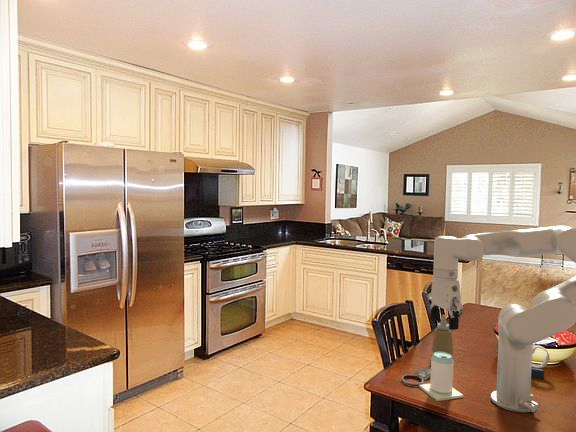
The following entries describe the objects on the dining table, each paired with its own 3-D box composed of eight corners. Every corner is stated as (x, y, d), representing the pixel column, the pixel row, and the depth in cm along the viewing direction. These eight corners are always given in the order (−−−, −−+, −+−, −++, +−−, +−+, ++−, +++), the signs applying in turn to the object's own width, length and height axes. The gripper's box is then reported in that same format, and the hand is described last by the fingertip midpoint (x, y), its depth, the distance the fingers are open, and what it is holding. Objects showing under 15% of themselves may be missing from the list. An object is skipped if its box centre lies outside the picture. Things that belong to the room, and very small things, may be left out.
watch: (522, 370, 160) (523, 341, 160) (547, 374, 157) (548, 345, 157) (524, 376, 155) (525, 346, 155) (549, 380, 152) (551, 350, 151)
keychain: (445, 375, 155) (446, 370, 155) (415, 390, 143) (415, 384, 143) (427, 368, 162) (427, 363, 161) (396, 382, 150) (396, 376, 149)
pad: (463, 397, 138) (463, 395, 138) (436, 401, 135) (437, 398, 135) (444, 383, 148) (444, 381, 148) (419, 387, 145) (419, 384, 145)
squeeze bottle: (454, 364, 165) (456, 319, 164) (433, 362, 166) (434, 317, 165) (451, 356, 173) (452, 313, 172) (430, 354, 174) (431, 311, 173)
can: (456, 391, 141) (458, 356, 140) (443, 396, 137) (445, 360, 136) (438, 383, 146) (440, 349, 146) (425, 388, 142) (427, 353, 142)
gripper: (473, 278, 132) (471, 332, 133) (439, 268, 149) (437, 316, 149) (452, 279, 130) (451, 334, 131) (420, 269, 146) (419, 318, 147)
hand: (444, 324), depth 140 cm, fingers open, 9 cm apart
